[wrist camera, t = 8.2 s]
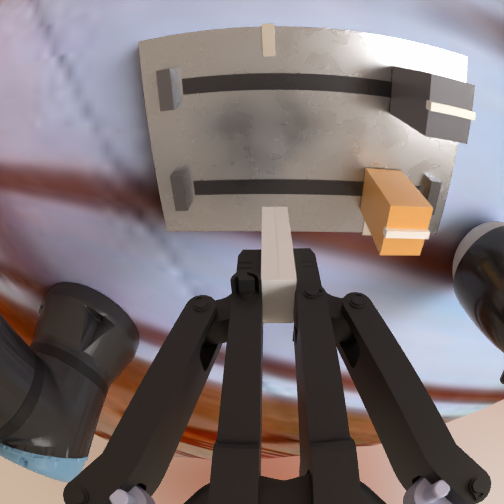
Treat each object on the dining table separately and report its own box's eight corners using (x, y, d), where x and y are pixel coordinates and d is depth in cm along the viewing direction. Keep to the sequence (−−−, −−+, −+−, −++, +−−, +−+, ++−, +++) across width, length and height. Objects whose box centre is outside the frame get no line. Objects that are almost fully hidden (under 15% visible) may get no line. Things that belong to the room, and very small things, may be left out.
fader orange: (359, 209, 24) (380, 258, 19) (364, 168, 22) (391, 208, 16) (394, 211, 23) (422, 258, 18) (401, 170, 21) (436, 211, 16)
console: (173, 221, 28) (164, 239, 26) (148, 39, 18) (132, 39, 16) (427, 224, 26) (439, 242, 24) (454, 52, 17) (474, 55, 14)
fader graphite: (389, 113, 19) (427, 138, 14) (392, 65, 17) (433, 74, 12) (426, 118, 19) (470, 145, 13) (430, 73, 16) (478, 86, 11)
